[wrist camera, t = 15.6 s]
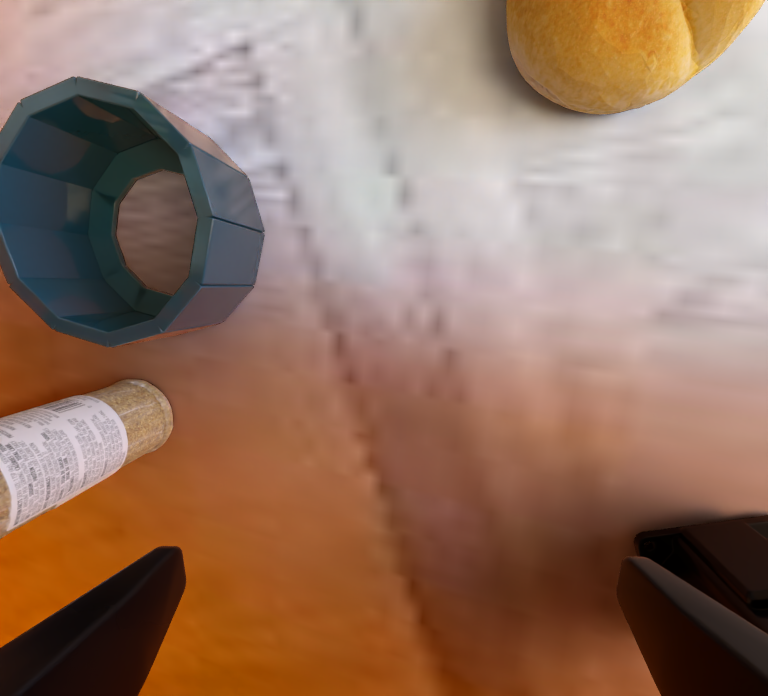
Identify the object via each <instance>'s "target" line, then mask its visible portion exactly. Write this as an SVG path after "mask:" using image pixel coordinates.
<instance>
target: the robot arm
mask: <svg viewBox="0 0 768 696" xmlns="http://www.w3.org/2000/svg"><path fill="white" fill-rule="evenodd" d="M646 542H650V543H649V544H648V545H644V544H645V543H646ZM634 544H635V549H636V554H637V557H625V558H624V559H623V560H622V563H621V568H620V573H619V578H618V584H617V598H618V601H619V604H620V606H621V609H622V611H623V613H624V615H625V617H626V620H627V622H628V624H629V626H630V629H631V631H632V633H633V635H634V637H635V640H636V642H637V644H638V646H639V648H640V651H641V653H642V655H643V657H644V660H645V662H646V664H647V666H648V668H649V671H650V673H651V675H652V677H653V679H654V682H655V684H656V686H657V688H658V690H659V692H660V694H661V696H768V515H766V516H758V517H751V518H743V519H736V520H728V521H721V522H713V523H706V524H698V525H691V526H683V527H676V528H668V529H661V530H653V531H646V532H641V533H639V534H637V535H636V537H635V538H634ZM185 585H186V574H185V567H184V561H183V554H182V550H181V549H180V548H179V547H177V546H160V547H157V548H156V549H154V550H152V551H151V552H149V553H148V554H146V555H145V556H143V557H141V558H140V559H138V560H137V561H135V562H134V563H132V564H131V565H129V566H127V567H126V568H124V569H123V570H121V571H120V572H118V573H116V574H115V575H113V576H112V577H110V578H109V579H107V580H106V581H104V582H102V583H101V584H99V585H98V586H96V587H95V588H93V589H92V590H90V591H88V592H87V593H85V594H84V595H82V596H81V597H79V598H78V599H76V600H74V601H73V602H71V603H70V604H68V605H67V606H65V607H63V608H62V609H60V610H59V611H57V612H56V613H54V614H53V615H51V616H49V617H48V618H46V619H45V620H43V621H42V622H40V623H39V624H37V625H35V626H34V627H32V628H31V629H29V630H28V631H26V632H25V633H23V634H21V635H20V636H18V637H17V638H15V639H14V640H12V641H11V642H9V643H7V644H6V645H4V646H3V647H1V648H0V696H138V694H139V692H140V690H141V688H142V686H143V684H144V682H145V680H146V678H147V676H148V674H149V672H150V669H151V667H152V665H153V663H154V660H155V658H156V656H157V653H158V651H159V649H160V646H161V644H162V642H163V639H164V637H165V635H166V632H167V630H168V628H169V625H170V623H171V621H172V618H173V616H174V614H175V611H176V609H177V607H178V604H179V602H180V600H181V597H182V595H183V593H184V589H185Z"/></svg>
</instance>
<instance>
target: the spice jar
mask: <svg viewBox="0 0 768 696" xmlns="http://www.w3.org/2000/svg"><path fill="white" fill-rule="evenodd" d="M172 429H173V415H172V410H171V406H170V404H169V402H168V399H167V398H166V397H165V396H164V394H163V393H162V392H160V391H159V390H158V389H157V388H156V387H155V386H153V385H151V384H150V383H148V382H146V381H143V380H138V379H126V380H122V381H119V382H116V383H114V384H113V385H111V386H109V387H106V388H103V389H100V390H97V391H94V392H90V393H87V394H84V395H77V396H72V397H68V398H65V399H62V400H59V401H55V402H52V403H48V404H45V405H42V406H38V407H35V408H32V409H29V410H25V411H22V412H19V413H15V414H12V415H9V416H6V417H2V418H0V539H1V538H2V537H4V536H6V535H7V534H9V533H10V532H12V531H13V530H15V529H17V528H19V527H21V526H23V525H24V524H26V523H28V522H30V521H31V520H33V519H35V518H37V517H38V516H40V515H42V514H44V513H46V512H47V511H49V510H52V509H54V508H56V507H58V506H60V505H61V504H63V503H65V502H66V501H68V500H70V499H72V498H73V497H75V496H77V495H78V494H80V493H82V492H84V491H85V490H87V489H89V488H90V487H92V486H94V485H95V484H97V483H99V482H101V481H102V480H104V479H106V478H107V477H109V476H111V475H112V474H114V473H115V472H116V471H118V469H120V468H122V467H124V466H125V465H126V464H129V463H130V462H132V461H134V460H136V459H137V458H139V457H141V456H142V455H144V454H146V453H150V452H153V451H155V450H157V449H158V448H160V447H161V446H162V445H163V444H164V443H165V442H166V441H167V439H168V437H169V436H170V434H171V431H172Z"/></svg>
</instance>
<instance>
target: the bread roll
mask: <svg viewBox="0 0 768 696" xmlns="http://www.w3.org/2000/svg"><path fill="white" fill-rule="evenodd" d="M764 1H765V0H507V4H506V14H507V35H508V41H509V47H510V51H511V54H512V57H513V60H514V63H515V64H516V67H517V69H518V70H519V72H520V74H521V75H522V76H523V78H524V79H525V80H526V81H527V82H528V83H529V84H530V85H531V86H532V88H533V89H535V90H536V91H537V92H538V93H540V94H541V95H543V96H544V97H546V98H548V99H549V100H551V101H552V102H554V103H557V104H559V105H561V106H563V107H565V108H567V109H571V110H575V111H579V112H584V113H589V114H612V113H619V112H623V111H626V110H630V109H634V108H640V107H643V106H645V104H646V105H648V104H650V103H652V102H654V101H657V100H659V99H662V98H664V97H666V96H667V95H669V94H670V93H672V92H674V91H675V90H677V89H678V88H679V87H681V86H682V85H683V84H685V83H686V82H687V81H688V80H690V79H691V78H692V77H693V76H695V75H697V74H698V73H700V72H701V71H702V70H704V69H705V68H706V67H708V66H709V65H710V64H711V63H712V62H714V61H715V60H716V59H717V58H718V57H719V56H721V55H722V53H723V52H724V51H725V50H726V49H727V48H728V47H729V46H730V45H731V44H732V43H733V41H734V40H735V39H736V38H737V37H738V35H739V34H740V33H741V32H742V31H743V30H744V28H745V27H746V26H747V25H748V24H749V23H750V21H751V20H752V19H753V17H754V16H755V15H756V13H757V12H758V11H759V10H760V8H761V6H762V5H763V3H764Z"/></svg>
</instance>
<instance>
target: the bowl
mask: <svg viewBox="0 0 768 696" xmlns="http://www.w3.org/2000/svg"><path fill="white" fill-rule="evenodd" d="M162 170H165V171H169V172H173V173H176V174H180V175H184V176H185V179H186V182H187V186H188V189H189V192H190V195H191V198H192V201H193V204H194V208H195V211H196V214H197V217H198V219H197V226H196V232H195V238H194V245H193V251H192V258H191V264H190V271H189V277H188V278H187V279H186V281H185V282H184V283H183V284H182V285H181V287H180V288H179V289H178V290H177V292H176V293H175V294H174V295H171V294H168V293H164V292H161V291H158V290H154V289H151V288H148V287H147V286H146V285H145V284H144V283H143V282H142V281H141V280H140V279H139V278H138V277H137V276H136V275H135V274H134V273H133V272H132V271H131V270H130V269H129V268H128V267H127V266H126V264H125V261H124V258H123V255H122V252H121V250H120V247H119V244H118V241H117V238H116V228H117V219H118V210H119V204H120V202H121V201H122V200H123V198H124V197H125V195H126V194H127V193H128V191H129V190H130V188H131V187H132V186H133V184H134V183H135V182H136V180H138V179H141V178H143V177H146V176H149V175H151V174H154V173H157V172H160V171H162ZM263 232H264V227H263V224H262V221H261V217H260V214H259V211H258V207H257V204H256V200H255V197H254V194H253V190H252V187H251V184H250V180H249V178H247V175H246V174H245V173H244V172H243V171H242V170H241V169H240V168H239V167H238V166H237V165H236V164H235V163H234V162H233V161H232V160H231V159H230V158H229V157H228V156H227V155H226V154H225V152H224V151H223V150H222V149H221V148H220V147H219V146H218V145H217V144H216V143H215V142H214V141H213V140H212V139H211V138H209V137H208V136H206V135H205V134H203V133H202V132H200V131H199V130H197V129H196V128H194V127H193V126H191V125H190V124H188V123H187V122H185V121H184V120H182V119H180V118H179V117H177V116H176V115H174V114H173V113H171V112H170V111H168V110H167V109H165V108H164V107H162V106H161V105H159V104H158V103H156V102H155V101H153V100H152V99H150V98H148V97H147V96H145V95H144V94H142V93H140V92H139V91H136V90H132V89H128V88H124V87H120V86H116V85H112V84H107V83H103V82H99V81H95V80H91V79H87V78H83V77H77V78H76V77H71V78H69V79H66V80H64V81H62V82H60V83H57V84H55V85H53V86H51V87H48V88H46V89H44V90H42V91H39V92H37V93H35V94H33V95H30V96H28V97H26V98H23V99H21V103H20V102H18V103H17V105H16V106H15V108H14V110H13V111H12V113H11V115H10V116H9V118H8V120H7V122H6V123H5V125H4V127H3V128H2V130H1V132H0V266H1V268H2V271H3V273H4V276H5V278H6V281H7V283H8V284H10V286H9V287H10V288H11V289H12V290H13V291H14V292H15V293H16V294H17V295H18V296H19V297H20V298H21V299H22V300H23V301H24V302H25V303H26V304H27V305H28V306H29V307H30V308H31V309H32V310H33V311H34V312H35V313H36V314H37V315H38V316H39V317H40V318H41V319H42V320H43V321H44V322H45V323H46V324H47V325H48V326H49V327H50V328H51V329H53V330H54V329H55V331H57V332H60V333H63V334H67V335H70V336H73V337H76V338H79V339H83V340H86V341H89V342H92V343H95V344H99V345H102V346H105V347H118V346H123V345H129V344H134V343H139V342H144V341H150V340H155V339H160V338H165V337H170V336H176V335H181V334H184V333H188V332H191V331H195V330H199V329H202V328H206V327H210V326H213V325H217V324H220V323H221V322H224V321H225V320H226V319H227V317H228V316H229V315H230V314H231V313H232V312H233V311H234V309H235V308H236V307H237V306H238V305H239V304H240V303H241V301H242V300H243V299H244V298H245V297H246V296H247V295H248V293H249V292H250V291H251V290H252V289H253V288H254V286H253V285H255V282H256V277H257V271H258V266H259V261H260V256H261V251H262V245H263V240H264V233H263Z"/></svg>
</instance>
